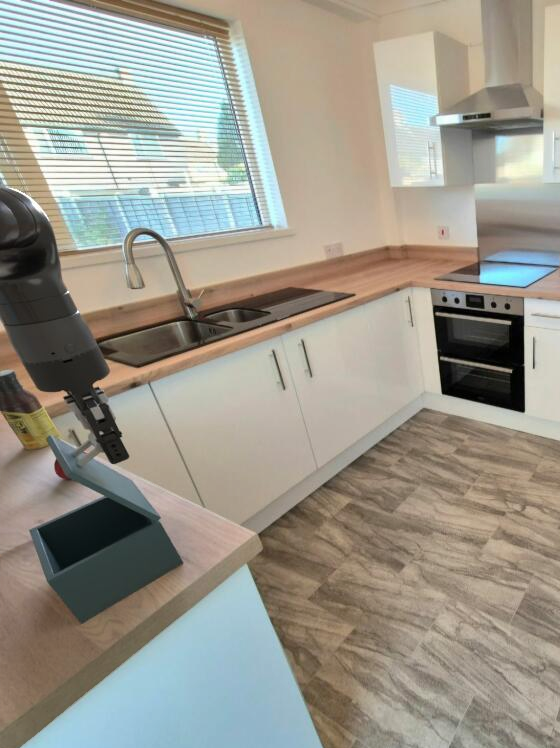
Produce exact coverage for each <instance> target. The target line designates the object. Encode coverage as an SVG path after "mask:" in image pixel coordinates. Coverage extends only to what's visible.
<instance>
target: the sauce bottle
mask: <svg viewBox="0 0 560 748" xmlns="http://www.w3.org/2000/svg"><path fill="white" fill-rule="evenodd" d="M0 413H1V414H2V417H4V419H5V420H6V422H7V424H8V426H9V427H10V428H11V430H12V432H13V433H14V434H15V436H16V437H17V439H18V441H19V442H20V443H21V445H22V447H23V448H24V449H25V450H27V451H37V450H39V449H43V448H47V447H50V446H49V444H48V442H47V441H46V438H47V437H48V436H50V435H52V436H54V437H56V438H57V439H59V440H61V438H62V435H61V434H60V432H59V431H58V429H57V427H56V425H55V424H54V422H53V421H52V418H51V417H50V416H49V413H48V412H47V410H46V408H45V407H44V406H43V404H42V403H41V402H40V400H39V398H38V397H37V395H36V394H34V393H33V392H31V391H29V390H27V389H25V388H24V386H23V385H22V384H21V382H20V381H19V379H18V378H17V374H16V372H15V371H14V370H13V369H5V370H4V369H3V370H0Z"/></svg>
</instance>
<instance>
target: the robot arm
mask: <svg viewBox="0 0 560 748" xmlns="http://www.w3.org/2000/svg"><path fill="white" fill-rule="evenodd" d="M61 265H62V264H61V259H60V254H59V249H58V244H57V239H56V235H55V231H54V229H53V226H52V224H51V221H50V219H49V217H48V215H47V214H46V213H45V212H44V210H43V209H42V208H41V206H40V205H39V204H38V203H37V202H36V201H35V200H33V199H32V198H31V197H30V196H28V195H27V194H26V193H24V192H21V191H19V190H18V189H15V188H12V187H9V186H5V185H4V186H3V185H0V322H1V324H2V326H3V328H4V330H5V332H6V335H7V338H8V341H9V343H10V345H11V346H12V348H13V350H14V352H15V354H16V355H17V357H18V358H19V360H20V363H21V364H22V366H23V367H24V369H25V371H26V372H27V375H28V376H29V377H30V379H31V380H32V383H33V385H34V386H35V388H36V389H37V390H38V391H39V392H44V393H60V392H63V391H64V393H66V395H63V396H62V398H63V400H64V402H65V404H66V406H67V407H68V408H69V409H70V411H71V412H72V413H73V414H74V416H75V418H76V419H77V420H78V421H79V422H80V423H81V425H82V427H83V429H84V430H86V431H89V432H90V433H91V432H92V433H93V435H94V436H95V438H96V439H95V441H96V442H97V443H99V444H100V445H101V447H102V449H103V451H104V454H105V456H106V458H107V461H108V462H109V463H110V464H111V465H116V464H117V465H118V464H119V463H122V462H125V461H127V460H128V459H130V454H129V452H128V450H127V448H126V446H125V444H124V442H123V440H122V438H123V432H122V431H121V430H120V429H119V427H118V425H117V423H116V420H117V418H116V415H115V413H114V412H113V410H112V408H111V406H110V405H109V403H108V402H109V398H108V396H107V395H106V393H105V391H104V390H102V388H101V387H100V386H95V387H94V384H95V383H97V382H98V381H102V380H104V379H106V378H107V377H108V375H109V374H110V373H111V369H110V367H109V364H108V362H107V360H106V359H105V357H104V355H103V352H102V351H101V349H100V346H99V345H98V343H97V340H96V338H95V336H94V335H93V332H92V330H91V328H90V327H89V325H88V323H87V322H86V320H85V319H84V318H83V316H82V315H81V313H80V311H79V310H78V308H77V305H76V303H75V301H74V299H73V297H72V296H71V293H70V291H69V289H68V288H67V285H66V284H65V282H64V280H63V279H64V278H63V275H62V266H61ZM99 431H102V432H103V433H104V434H101V435H100V433H99Z"/></svg>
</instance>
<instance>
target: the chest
mask: <svg viewBox="0 0 560 748" xmlns="http://www.w3.org/2000/svg"><path fill="white" fill-rule="evenodd" d="M28 531H29V533H30V536H31V537H30V538H31V540H32V542H33V545H34V548H35V551H36V554H37V557H38V560H39V563H40V566H41V568H42V571H43V574H44V577H45V580H46V582H47V584H48V585H49V586H50V587H51V589H52V590H53V591H54V592H55V593H56V595H57V596H58V598H59V599H60V600H61V601H62V602H63V604H64V605H65V606H66V607H67V609H68V610H69V611H70V612H71V614H72V615H73V616H74V618H76V620H77V621H78V623H80V625H82V624H84V623H86V622H88V621H89V620H90V619H92V618H94V617H96V616H97V615H99V614H101V613H102V612H104V611H106V610H108V609H109V608H111V607H112V606H114V605H116V604H117V603H119V602H121V601H123V600H124V599H126V598H128V597H129V596H131V595H132V594H133V595H134V593H136V592H138V591H139V590H141V589H143V588H144V587H146V586H148V585H149V584H151V583H152V582H154V581H156V580H158V579H159V578H161V577H163V576H164V575H166V574H168V573H169V572H171V571H173V570H174V569H176V568H178V567H179V566H181V565H183V564H184V561H183V559H182V557H181V555H180V554H179V552H178V550H177V549H176V547H175V545H174V544H173V542H172V539H171V538H170V536H169V534H168V533H167V531H166V530H165V528H164V526H163V524H162V523H161V521H160V520H159V521H157V522H155V521H153V520H151V519H149V518H147V517H145V516H143V515H141V514H139V513H137V512H135V511H133V510H132V509H130V508H128V507H126V506H124V505H122V504H120V503H118V502H116V501H114V500H112V499H110V498H108V497H106V496H104V495H102V496H101V497H99V498H97V499H95V500H92V501H90V502H88V503H86V504H83V505H81V506H79V507H77V508H75V509H73V510H71V511H67V512H66V513H64V514H61V515H59V516H56V517H55V518H52V519H50V520H48V521H46V522H44V523H41V524H39V525H37V526H35V527H33V528H30V529H29V530H28Z"/></svg>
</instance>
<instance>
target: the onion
mask: <svg viewBox="0 0 560 748" xmlns="http://www.w3.org/2000/svg"><path fill="white" fill-rule="evenodd" d="M83 453H84V454H86V455H87V454H88V453H89V452H86V451H84V452H83ZM53 467H54V472H55V474H56V475H57V476H58V478H61V479H63V480H67V481H73V480H72V479H70V478H68V477H66V475H65V473H64V471H63V470H62V468H61V466H60V464H59V462H58V460H57V459H56V458H55V460H54V464H53Z"/></svg>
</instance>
